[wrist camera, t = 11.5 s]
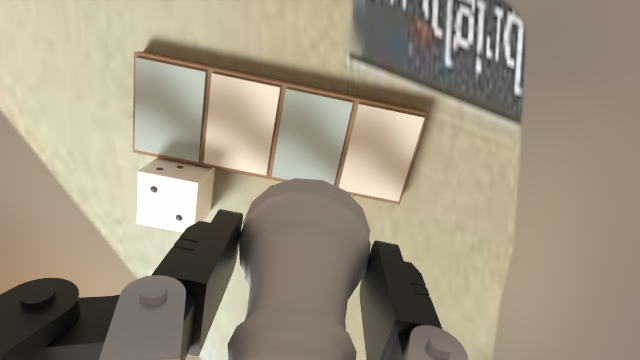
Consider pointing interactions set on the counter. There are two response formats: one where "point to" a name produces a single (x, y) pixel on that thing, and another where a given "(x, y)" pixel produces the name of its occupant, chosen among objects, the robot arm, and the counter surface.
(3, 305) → the robot arm
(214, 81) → the board
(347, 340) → the rook chess piece
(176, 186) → the die
